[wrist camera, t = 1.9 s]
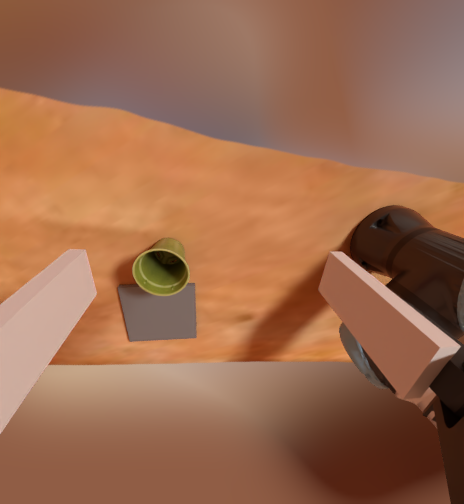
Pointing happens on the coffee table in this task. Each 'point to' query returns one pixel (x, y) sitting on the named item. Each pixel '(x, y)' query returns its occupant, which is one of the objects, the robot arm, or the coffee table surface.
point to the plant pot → (162, 268)
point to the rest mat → (158, 313)
